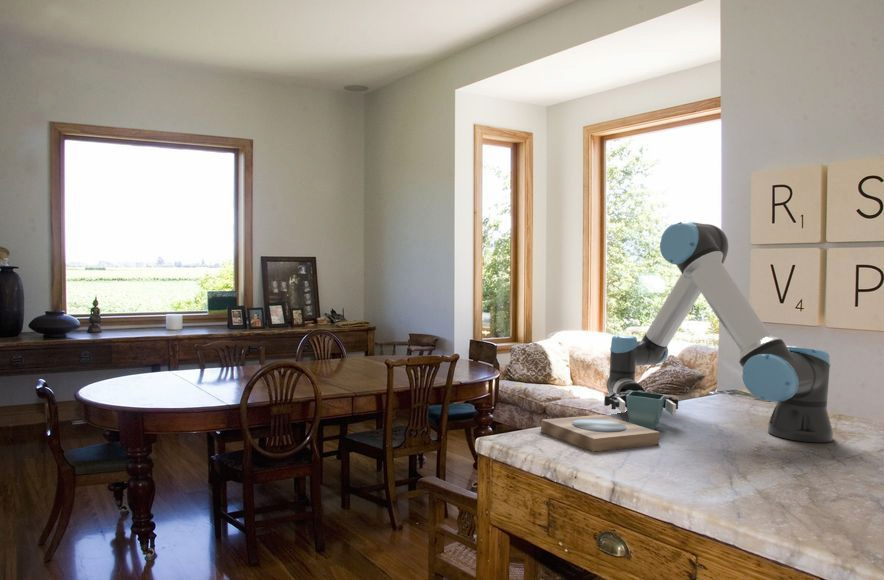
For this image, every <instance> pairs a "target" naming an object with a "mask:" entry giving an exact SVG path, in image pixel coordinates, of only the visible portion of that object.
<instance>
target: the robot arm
mask: <svg viewBox="0 0 884 580" xmlns="http://www.w3.org/2000/svg"><path fill="white" fill-rule="evenodd" d="M659 249H660V250H659V251H660V254H661V256H662V258H663V259H664V260H665V262H668V263H670V264H671V265H676V267H677V268H678V269H679V272H680V276H679V278H678V279H677V281H676V282H675V284H674V286H673V287H672V289H671V290H670V292H669V294H668V296H667V297H666V299H665V301H664V302H663V304H662V306H661V308H660V310H659V311H658V313H656V316H655V318H654V320H653V321H652V322H651V324H650V326H649V328H648V329H647V331H646V333H645V334H644V335H643V338H642V339H641V340H639V341H638V338H637V337H636V336H635V335H623V334H615V335H613V336H612V337H611V345H610V348H609V350H610V356H609V360H610V361H609V374H608V378H607V379H606V382H605V385H606V386H605V387H606V389H607V391H608V393H607V394H606V395H604V404H603V405H604V407H609V406H610V405H611V407H610V408H611V410H616V409H618V411H619V412H621V413H626V408H627V400H626V395H627V394H629V393H630V392H631V391H639V392H646V391H645V389H644V387H643V386H642V385H641V384H639V383H638V382H636V380H635V379H636V370H637V369H636V368H637V367H638V366H654V365H659V364H662V363H664V362H665V361H667V358H668V356H669V355H668V354H669V349H668V346H669V344H670V343H671V341H672V340H673V338H674V336H675V335H676V333H677V331H678V330H679V329H680V327H681V325H682V324H683V322H684V321H685V318H686V317H687V316H688V314H689V313H690V311H691V310H692V308H693V306H694V304H695V303H696V301H697V300H698V299H699V296H700V295H701V294H702V296H703V297H704V299H705V301H706V302H707V304H708V305H709V307H710V308H711V310H712V312H714V314H715V316H716V317H717V319H718V321H719V322H720V324H721V325H722V327H723V328H724V330H725V332H726V333H727V335H728V336H729V337H730V339H731V341H732V342H733V344H734V345H735V347H736V348H737V350H738V351H739V353H740V355H739V358H738V363H739V364H740V367H742V375H741V377H742V381H743V384H744V386H745V388H746V389H747V391H748V392H749V393H750V394H751V395H752V396H754V397H755V398H757V399H759V400H762V401H765V402H772V403H773V402H775V404H776V405H775V406H774V409H773V410H772V414H771V415H770V419H769V421H768V423H767V432H768V434H770V435H773V436H775V437H778V438H781V439H785V440H786V439H787V440H791V441H798V442H804V443H805V442H806V443H819V444H820V443H830V442H832V441H833V440H834V439H833V438H834V430H833V427H832V423H831V420H830V416H829V413H828V396H829V395H828V394H829V381H830V380H829V379H830V369H831V363H830V361H831V359H830V353H828V352H827V351H825V350H822V349H816V348H809V347H802V346H801V347H800V346H793V345H786V344H785V343H786V342H784V340H783V339H782V338H780V337H776V336H773V335H771V333H770V332H769V330H768V328H767V327H766V326H765V324H764V323H763V321H762V319H761V318H760V317H759V315H758V314H757V313H756V311H755V309H754V307H752V305H751V303H750V302H749V301H748V298H747V297H746V296H745V295H744V293H743V292H742V290H741V289H740V287H739V285H737V282H736V281H735V280H734V278H733V277H732V275H731V274H730V273H729V271H728V270H727V268H726V267H725V265H724V263H725V261H726V258H727V256H728V252H729V241H728V238H727V235H726V234H725V232H724V231H723V230H722V229H721V228H719V226H716V225H714V224H710V223H700V222H693V221H688V220H685V221H676V222H673V223H671V224H670V225H668V227H667V228H665V230H664V231H663V233H662V235H661V237H660V242H659ZM655 394H658V392H656V393H655ZM663 409H664V410H665V411H667V412H668V413H669V414H671V415H672V416H676V413H677V410H678V409H679V399H677V398H673V396H666V395H665V400H664V406H663Z"/></svg>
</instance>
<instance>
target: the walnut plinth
mask: <svg viewBox="0 0 884 580" xmlns="http://www.w3.org/2000/svg"><path fill="white" fill-rule="evenodd" d="M540 432H541V433H543V434H546V435H549V436H552V437H554V438H557V439H558V440H562V441H564V442H567V443H569V444H572V445H574V444H575V446H577V445H578V446H577V447H579V446H580V448H582V447H583V449H585V448H586V449H585V450H587V449H589V450H588V451H590V450H591V451H590V452H592V451H599V452H603V451H602V450H607V451H611V450H610V449H616V450H621V449H620V448H625V449H630V448H629V447H633V448H639V447H638V446H642V447H647V446H646V445H650V446H656V445H655V444H659V445H660V433H661V432H660V431H658V430H655V429H654V430H651V429H648V428H645V427H642V426H638V425H635V424H632V423H630V422H629V421H625V420H622V419H618V418H616V417H612V416H608V415H605V414H594V415H593V414H592V415H581V416H569V417H561V418H560V417H557V418H548V419H546V418H545V419H541V422H540Z"/></svg>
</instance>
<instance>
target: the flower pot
mask: <svg viewBox="0 0 884 580" xmlns="http://www.w3.org/2000/svg"><path fill="white" fill-rule="evenodd" d="M665 396H666V395H665V394H661V393H657V394H655V393H654V392H646V391H645V392H639V391H631V392H630V393H629V394H627V395H626V400H627V407H626V413H627V418H628V422H629V423H632V424H635V425H638V426H642V427H645V428H648V429H651V430H655V428H656V427H657V425H658V424H659V421H660V419H661V417H662V414H663V411H664V408H663V406H664V400H665Z"/></svg>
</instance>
